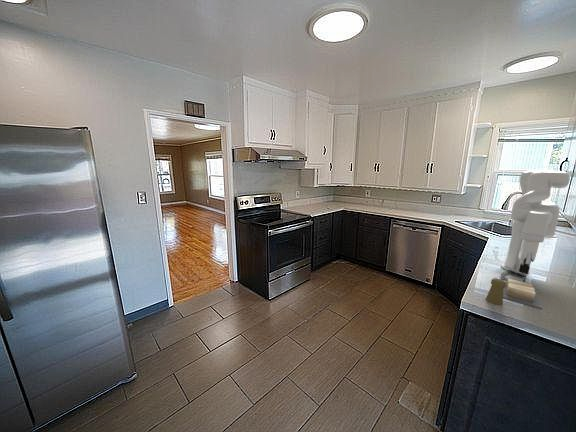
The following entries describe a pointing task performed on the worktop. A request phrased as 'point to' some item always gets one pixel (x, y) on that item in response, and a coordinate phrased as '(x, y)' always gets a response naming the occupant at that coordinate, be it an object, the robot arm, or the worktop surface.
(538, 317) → the worktop surface
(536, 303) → the rubber mat
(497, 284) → the cork
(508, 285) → the maple plaque
